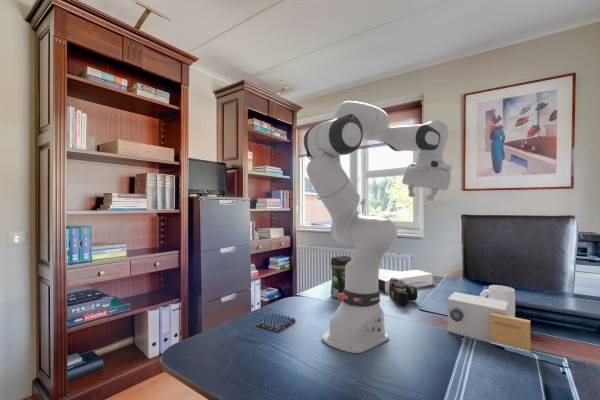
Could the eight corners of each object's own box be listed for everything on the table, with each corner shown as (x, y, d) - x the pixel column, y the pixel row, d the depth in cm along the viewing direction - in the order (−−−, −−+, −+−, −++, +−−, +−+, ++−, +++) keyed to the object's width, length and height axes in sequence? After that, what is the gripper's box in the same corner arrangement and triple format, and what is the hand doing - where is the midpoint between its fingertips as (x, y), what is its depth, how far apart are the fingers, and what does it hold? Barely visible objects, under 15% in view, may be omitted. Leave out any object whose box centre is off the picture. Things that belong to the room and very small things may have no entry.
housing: (504, 348, 87) (504, 311, 87) (446, 333, 97) (446, 300, 97) (508, 335, 96) (508, 301, 96) (454, 322, 106) (454, 291, 106)
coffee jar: (344, 292, 141) (344, 254, 141) (355, 297, 134) (355, 256, 134) (327, 295, 136) (327, 255, 136) (338, 300, 129) (338, 258, 129)
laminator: (384, 293, 140) (384, 281, 140) (367, 287, 151) (367, 275, 151) (433, 285, 155) (433, 273, 155) (414, 279, 166) (414, 268, 166)
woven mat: (280, 334, 97) (280, 328, 97) (256, 326, 103) (256, 321, 103) (297, 323, 106) (297, 317, 106) (274, 317, 112) (274, 311, 112)
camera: (422, 308, 120) (422, 284, 120) (397, 308, 120) (397, 284, 120) (409, 296, 136) (409, 274, 136) (386, 296, 136) (386, 274, 136)
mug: (485, 311, 117) (485, 281, 117) (519, 322, 106) (519, 289, 106) (473, 315, 113) (473, 284, 113) (507, 326, 102) (507, 292, 102)
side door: (530, 355, 82) (529, 322, 82) (489, 344, 88) (489, 314, 88) (530, 351, 84) (530, 320, 84) (491, 341, 90) (491, 312, 90)
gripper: (403, 161, 122) (395, 193, 123) (444, 163, 103) (435, 201, 104) (414, 164, 124) (406, 196, 126) (456, 167, 106) (447, 204, 107)
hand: (419, 198), depth 115 cm, fingers open, 8 cm apart
